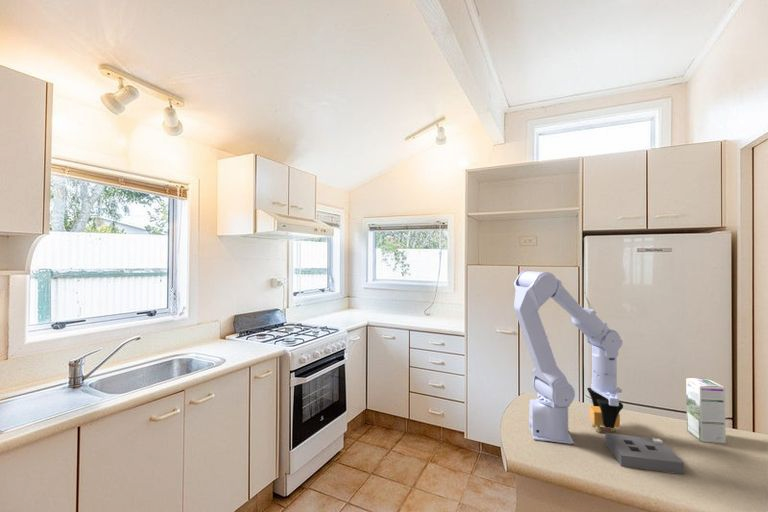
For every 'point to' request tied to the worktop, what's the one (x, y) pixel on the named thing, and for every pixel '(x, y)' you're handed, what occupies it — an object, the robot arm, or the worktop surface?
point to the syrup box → (706, 410)
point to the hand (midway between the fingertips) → (604, 421)
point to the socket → (644, 453)
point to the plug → (600, 419)
